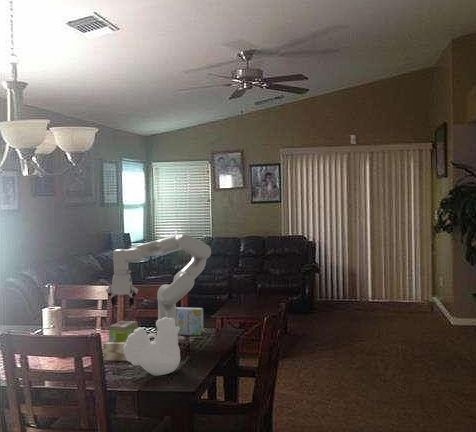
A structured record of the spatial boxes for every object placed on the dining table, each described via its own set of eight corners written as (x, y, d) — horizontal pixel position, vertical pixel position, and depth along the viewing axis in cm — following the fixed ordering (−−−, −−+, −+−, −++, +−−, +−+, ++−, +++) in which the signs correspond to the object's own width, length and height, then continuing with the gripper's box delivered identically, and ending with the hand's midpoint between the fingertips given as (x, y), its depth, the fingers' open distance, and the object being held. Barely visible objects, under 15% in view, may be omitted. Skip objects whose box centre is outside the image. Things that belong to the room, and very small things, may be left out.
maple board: (129, 358, 281) (129, 342, 281) (128, 360, 278) (127, 343, 278) (105, 358, 282) (104, 342, 281) (103, 360, 279) (103, 343, 278)
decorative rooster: (179, 366, 266) (179, 313, 266) (181, 377, 251) (181, 319, 250) (124, 369, 262) (123, 315, 262) (123, 380, 247) (122, 322, 246)
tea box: (127, 356, 285) (127, 326, 285) (108, 355, 287) (107, 326, 287) (138, 349, 300) (138, 320, 300) (120, 348, 302) (120, 319, 302)
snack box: (203, 333, 335) (203, 307, 334) (200, 335, 329) (200, 309, 329) (169, 332, 339) (168, 306, 339) (165, 334, 334) (165, 308, 334)
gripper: (139, 271, 306) (140, 303, 306) (108, 271, 308) (109, 303, 309) (134, 273, 298) (136, 306, 299) (102, 273, 301) (104, 306, 302)
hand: (122, 305), depth 304 cm, fingers open, 9 cm apart
